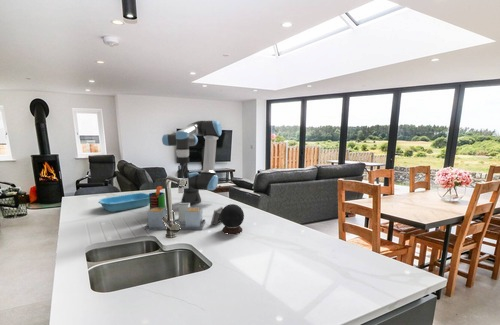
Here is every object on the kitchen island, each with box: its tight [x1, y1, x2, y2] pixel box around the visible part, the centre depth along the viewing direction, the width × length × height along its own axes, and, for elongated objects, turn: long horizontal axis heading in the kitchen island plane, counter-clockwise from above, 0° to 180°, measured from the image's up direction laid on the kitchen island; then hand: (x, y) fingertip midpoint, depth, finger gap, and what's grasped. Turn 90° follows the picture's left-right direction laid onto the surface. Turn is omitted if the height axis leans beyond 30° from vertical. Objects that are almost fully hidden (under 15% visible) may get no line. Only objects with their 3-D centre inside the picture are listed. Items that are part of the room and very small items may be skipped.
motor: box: [148, 185, 166, 210], centre depth 168 cm, size 10×9×20 cm
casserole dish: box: [98, 192, 150, 213], centre depth 193 cm, size 37×22×7 cm, turn 136°
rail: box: [144, 206, 206, 231], centre depth 153 cm, size 11×32×11 cm, turn 91°
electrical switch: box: [210, 206, 224, 226], centre depth 159 cm, size 9×5×9 cm, turn 157°
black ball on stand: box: [220, 203, 245, 235], centre depth 146 cm, size 13×13×15 cm
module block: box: [177, 202, 191, 221], centre depth 165 cm, size 6×6×11 cm
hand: (183, 190), depth 163 cm, fingers open, 13 cm apart
